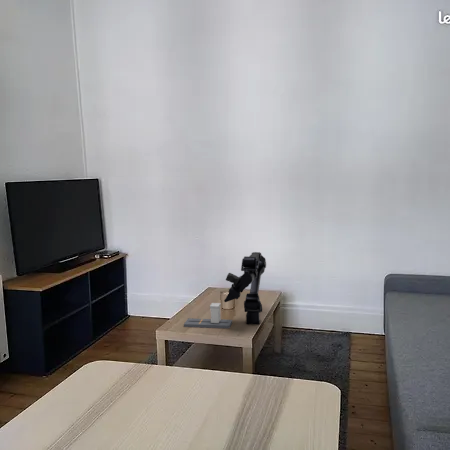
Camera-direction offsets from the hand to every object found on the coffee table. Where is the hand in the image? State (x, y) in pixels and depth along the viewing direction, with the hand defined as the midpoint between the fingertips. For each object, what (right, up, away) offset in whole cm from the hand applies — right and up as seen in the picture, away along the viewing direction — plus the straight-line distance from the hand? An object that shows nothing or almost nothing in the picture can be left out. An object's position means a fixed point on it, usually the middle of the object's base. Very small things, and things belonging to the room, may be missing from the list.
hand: (225, 299), depth 237 cm
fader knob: (-5, -12, +2) cm, 13 cm away
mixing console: (-9, -13, +3) cm, 17 cm away
